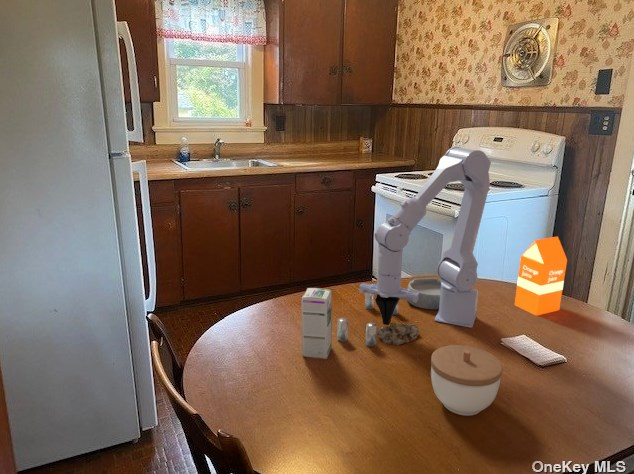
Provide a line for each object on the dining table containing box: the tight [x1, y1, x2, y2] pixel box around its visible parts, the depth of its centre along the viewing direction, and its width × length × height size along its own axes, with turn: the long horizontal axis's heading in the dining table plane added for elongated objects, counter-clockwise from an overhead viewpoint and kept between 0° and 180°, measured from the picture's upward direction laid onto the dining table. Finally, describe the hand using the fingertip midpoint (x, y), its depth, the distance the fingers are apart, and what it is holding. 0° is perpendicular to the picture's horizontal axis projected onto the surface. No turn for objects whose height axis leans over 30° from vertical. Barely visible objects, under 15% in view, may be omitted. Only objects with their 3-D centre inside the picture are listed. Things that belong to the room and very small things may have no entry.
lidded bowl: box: [430, 344, 503, 417], centre depth 90 cm, size 13×13×11 cm
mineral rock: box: [376, 322, 420, 346], centre depth 117 cm, size 11×4×8 cm
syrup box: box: [300, 287, 333, 360], centre depth 108 cm, size 6×6×14 cm
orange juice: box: [514, 236, 568, 316], centre depth 131 cm, size 8×9×20 cm
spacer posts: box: [336, 293, 400, 348], centre depth 123 cm, size 9×22×5 cm, turn 155°
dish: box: [406, 277, 441, 310], centre depth 138 cm, size 14×14×5 cm
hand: (386, 323), depth 121 cm, fingers closed
